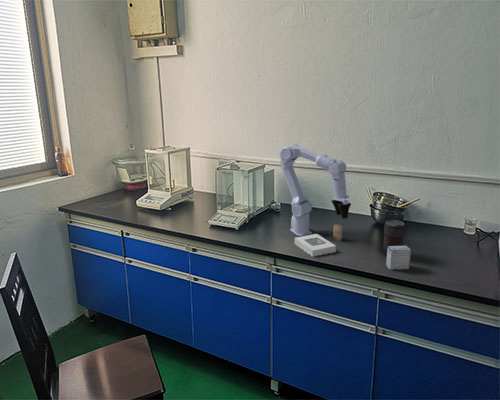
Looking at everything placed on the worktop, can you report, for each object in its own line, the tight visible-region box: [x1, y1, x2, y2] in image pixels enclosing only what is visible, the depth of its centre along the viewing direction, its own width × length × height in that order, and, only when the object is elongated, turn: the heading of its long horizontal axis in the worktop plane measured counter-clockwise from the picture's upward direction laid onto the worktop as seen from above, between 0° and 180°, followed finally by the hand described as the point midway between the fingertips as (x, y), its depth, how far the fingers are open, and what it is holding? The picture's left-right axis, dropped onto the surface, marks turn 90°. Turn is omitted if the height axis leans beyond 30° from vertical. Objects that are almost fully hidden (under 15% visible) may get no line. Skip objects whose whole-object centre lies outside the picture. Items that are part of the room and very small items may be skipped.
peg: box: [332, 223, 343, 242], centre depth 191 cm, size 4×4×7 cm
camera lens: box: [382, 219, 406, 258], centre depth 172 cm, size 8×8×15 cm
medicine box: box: [385, 245, 412, 271], centre depth 162 cm, size 8×4×9 cm, turn 92°
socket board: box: [294, 233, 337, 258], centre depth 183 cm, size 16×12×3 cm
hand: (342, 216), depth 185 cm, fingers open, 7 cm apart
